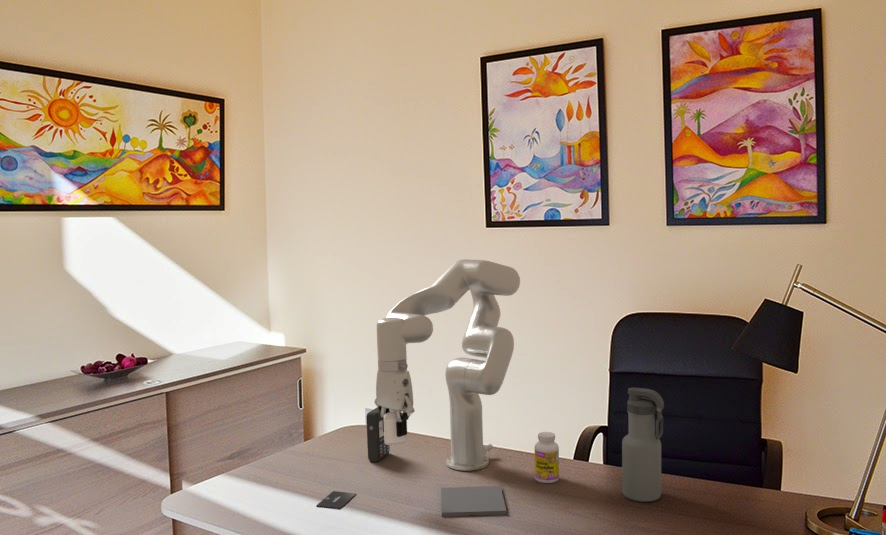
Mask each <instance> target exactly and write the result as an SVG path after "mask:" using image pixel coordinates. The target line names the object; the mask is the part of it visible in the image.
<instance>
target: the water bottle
mask: <svg viewBox="0 0 886 535" xmlns="http://www.w3.org/2000/svg"><path fill="white" fill-rule="evenodd" d="M627 394H628V400H627V407H626V408H627V409H626V410H627V414H628V415H627V416H628V422H627V423H628V433H627V434H626V435H625V436H624V437H623V438H622V440H621V451H622V452H621V457H622V458H621V461H622V462H621V472H622V475H621V478H622V480H621V481H622V482H621V485H622V494H623V496H624V497H626V498H627V499H629V500H631V501H635V502H640V503H651V502H655V501H658V500H659V499H660V498H661V497H662V496H661V495H662V442H661V440H660V439H661V437H662V436H663V434H664V415H663V414H662V411H663V410H664V408H665V402H664V399H663V397H662V396H661V394H659V393H658V392H657V391H656V390H653V389H650V388H643V387H629V388H628V389H627ZM656 414H657V415H656ZM655 415H656V417H655ZM655 419H656V420H655ZM659 426H660V427H659Z"/></svg>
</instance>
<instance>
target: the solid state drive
mask: <svg viewBox="0 0 886 535" xmlns="http://www.w3.org/2000/svg"><path fill="white" fill-rule="evenodd" d="M355 495H356V496H357V493H356V492H355V493H354V492H346V491H335V490H333V491H331V492H330V493H329V494H328V495H327V496H325V497H324V498H323V499H322V500H321V501H320V502H318V503H317V504H316V505H315V506H316V507H317V508H323V507H324V509H332V510H333V509H334V510H341V508H342V507H343V508H344V507H345V506H346V505H348V503H349V502H351V501H352V499H354V498H355V497H356V496H355ZM345 504H346V505H345ZM343 508H342V509H343Z"/></svg>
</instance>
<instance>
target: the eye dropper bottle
mask: <svg viewBox="0 0 886 535" xmlns="http://www.w3.org/2000/svg"><path fill="white" fill-rule="evenodd" d="M389 411H390V412H388V413H386V414H385V415H384V442H385V444H386V445H390V446H398V445H404V444H406V442H407V438H406V437H407V434H406V435H404V436H401V437H397V430H396V422H398V419H397V414H396V410H393V409H389ZM402 414H403V411H401V415H402Z"/></svg>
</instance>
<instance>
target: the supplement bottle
mask: <svg viewBox="0 0 886 535" xmlns="http://www.w3.org/2000/svg"><path fill="white" fill-rule="evenodd" d="M537 439H538V441H537V442H536V443H535V444H534V478H535V480H536V481H537V482H539V483H542V484H553V483H556V482H557V481H559V479H560V478H559V477H560V458H559V457H560V453H559V452H560V449H559V448H560V446H559V445H558V443H557V442H556V433H555V432H551V431H550V432H549V431H541V432H538V434H537Z"/></svg>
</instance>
